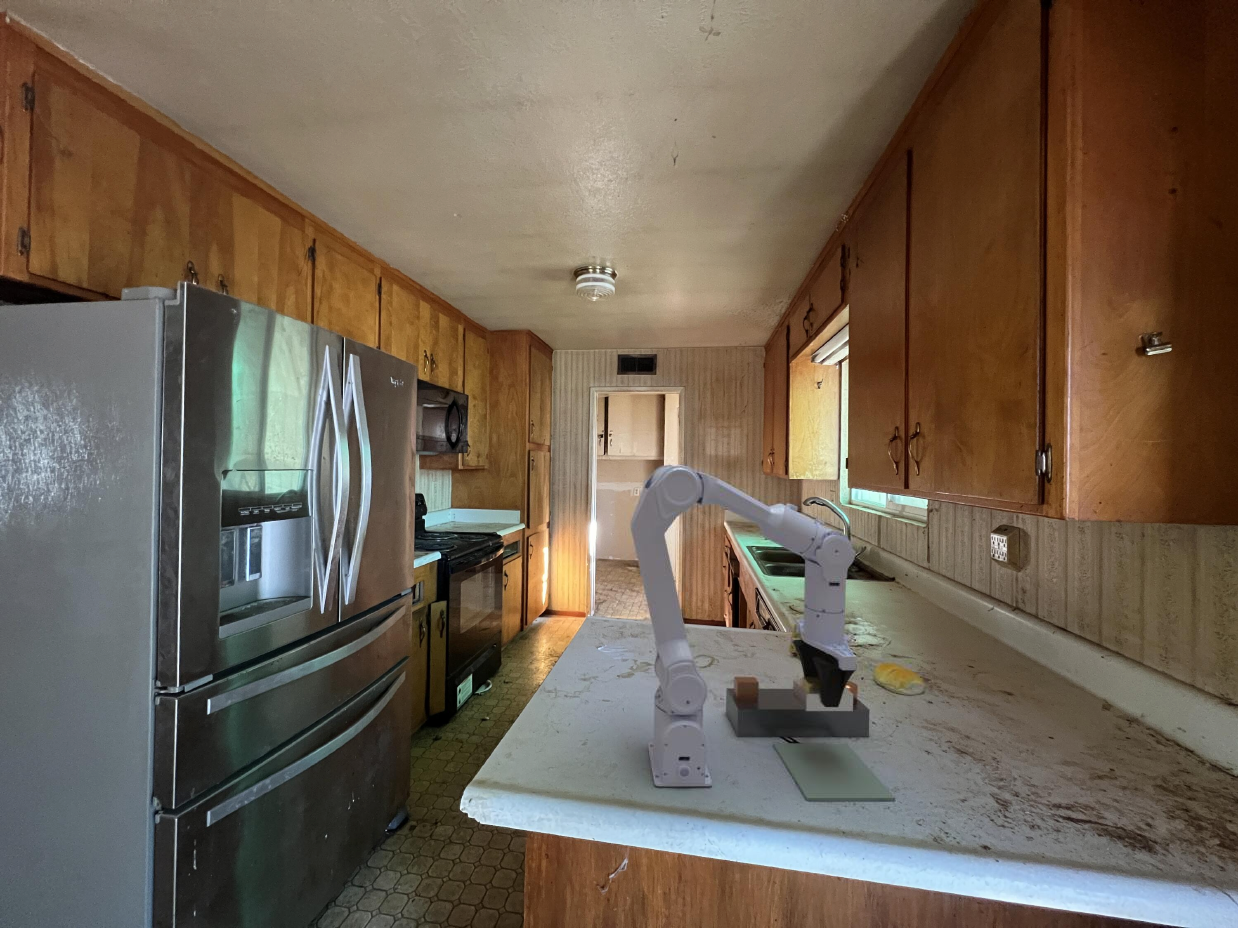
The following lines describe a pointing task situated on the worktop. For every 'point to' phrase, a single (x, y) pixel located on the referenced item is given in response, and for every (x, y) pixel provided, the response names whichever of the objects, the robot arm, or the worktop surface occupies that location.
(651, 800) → the worktop surface
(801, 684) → the lever cap
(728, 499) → the robot arm
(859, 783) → the rubber mat
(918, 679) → the bread roll
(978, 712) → the worktop surface
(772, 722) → the hand plane
